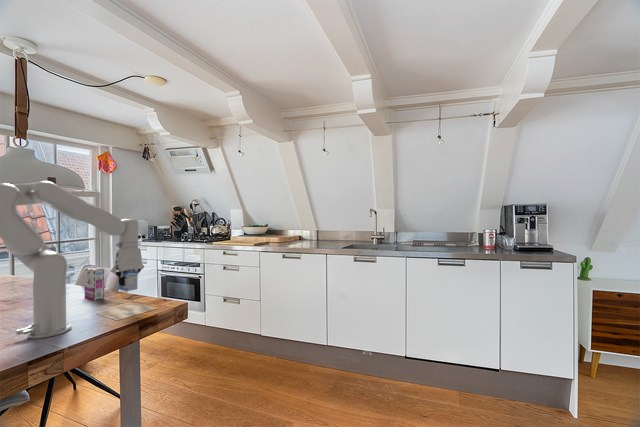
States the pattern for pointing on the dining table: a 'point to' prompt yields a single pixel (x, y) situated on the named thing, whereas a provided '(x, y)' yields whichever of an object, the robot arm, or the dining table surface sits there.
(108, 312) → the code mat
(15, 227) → the robot arm
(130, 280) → the medicine box
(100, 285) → the candy bar box
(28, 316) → the dining table surface
